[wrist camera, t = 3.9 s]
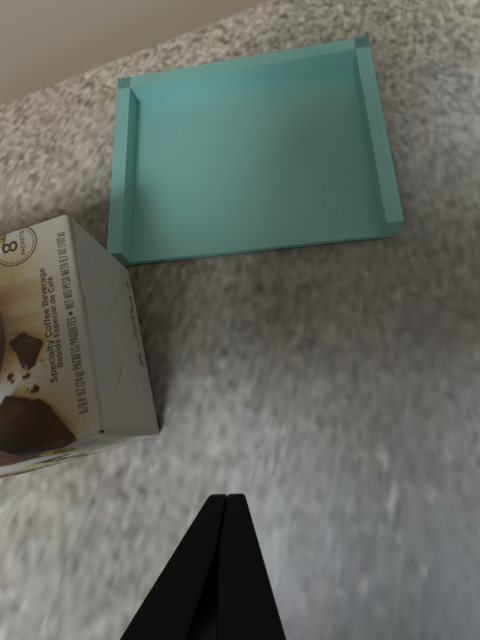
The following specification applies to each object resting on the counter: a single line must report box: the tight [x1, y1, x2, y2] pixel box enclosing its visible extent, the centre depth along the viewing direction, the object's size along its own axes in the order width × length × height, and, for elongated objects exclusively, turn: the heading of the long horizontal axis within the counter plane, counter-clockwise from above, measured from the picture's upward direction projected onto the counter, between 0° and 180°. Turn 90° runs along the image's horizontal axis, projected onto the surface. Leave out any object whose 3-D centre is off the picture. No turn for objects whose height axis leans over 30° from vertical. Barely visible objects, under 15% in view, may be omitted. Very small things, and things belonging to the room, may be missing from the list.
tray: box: [107, 36, 404, 266], centre depth 22 cm, size 12×15×2 cm
